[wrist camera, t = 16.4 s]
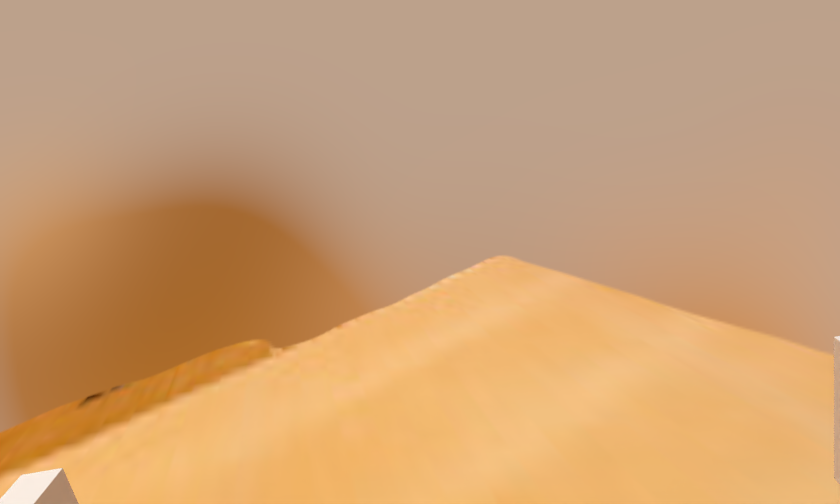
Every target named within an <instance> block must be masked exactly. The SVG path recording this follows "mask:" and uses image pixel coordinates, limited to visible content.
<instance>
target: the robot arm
mask: <svg viewBox="0 0 840 504" xmlns="http://www.w3.org/2000/svg"><path fill="white" fill-rule="evenodd" d="M834 478H835V479H836V481H837V482H838V483H839V484H840V336H837V337H834ZM0 504H78V502H77V499H76V497H75V495H74V493H73V490H72V488H71V486H70V484H69V481H68V479H67V477H66V475H65V472H64V470H63V468H60V469H54V470H48V471H43V472H37V473H31V474H25V475H21V476H20V477H19V478H18V479H17V481H16V482H15V483H14V484H13V485H12V486H11V487H10V489H9V490H8V491H7V492H6V493H5V494H4V495H3V496H2V498H1V499H0Z"/></svg>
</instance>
